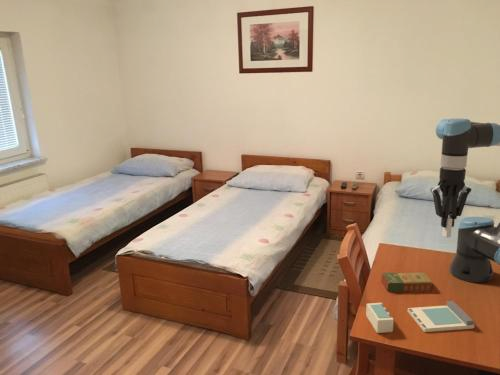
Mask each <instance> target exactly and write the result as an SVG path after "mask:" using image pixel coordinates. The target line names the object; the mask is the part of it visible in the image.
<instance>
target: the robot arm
mask: <svg viewBox="0 0 500 375" xmlns="http://www.w3.org/2000/svg"><path fill="white" fill-rule="evenodd" d="M435 134H436V137H437V138H438V139H440V140H442V143H441V155H440V156H441V158H440V166H441V167H440V168H439V177H438V178H439V181H438V183H437V186H435V187H432V188H430V192H431V194H432V195H433V196H432V198H433V205H434V210H435V214H436V216H438V217H439V218H441V221H440V226H441V227H442V234H441V235H442V236H443V237H444V238H451V237H452V228H453V227H454V226H455V221H456V220H457V219H458V217H461V216H462V215H463V214H462V213H463V211H464V207H465V205H466V202H467V199H468V197H469V194H470V193H471V192H472V188H471V187H468V186H467V185H466V183H465V179H466V171H467V170H466V168H467V162H468V153H469V149H473V148H485V147H486V148H489V147H493V146H496V147H500V124H498V123H495V122H475V121H471V120H470V119H468V118H443V119H442V120H440V121H439V122H438V123H437V124H436V127H435ZM441 196H442V199H441ZM458 225H459V226H458V230H457V239H456V240H457V242H456V253H455V255H454V257H453V259H452V261H451V262H450V265H449V273H450V274H451V276H453V277H455V278H457V279H459V280H461V281H466V282H470V283H486V282H490V281H491V280H492V279H493V277H494V276H493V275H494V270H493V266H492V262H494V263H496V264H498V266H499V265H500V222H498V224H497V225H496V224H495V220H494V219H493V218H490V217H486V216H485V217H484V216H466V217H463V218H461V219H460V221H459V224H458ZM495 225H496V226H495ZM491 261H492V262H491Z"/></svg>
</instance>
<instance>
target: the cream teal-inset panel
mask: <svg viewBox="0 0 500 375" xmlns="http://www.w3.org/2000/svg"><path fill="white" fill-rule="evenodd" d="M407 313H408V314H409V315H410V317H412V319H413V320H414V321H415V322H416V323H417V325H418V326H419V327H420V329H421V330H422V331H423V332H424V333H431V332H444V331H456V330H457V331H458V330H468V329H469V330H470V329H472V330H473V329H474V328H475V324H474V319H472V318H471V317H470V316H469V315H468V314H467V313H466V312H465V311H464V310H463V309H462V308H461V307H460V306H459V305H458V304H457V303H456V302H455V301H453V300H448V301H446V305H437V306H436V305H434V306H433V305H432V306H423V307H422V306H419V307H408V308H407Z"/></svg>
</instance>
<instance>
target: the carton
mask: <svg viewBox="0 0 500 375" xmlns="http://www.w3.org/2000/svg"><path fill="white" fill-rule="evenodd" d="M380 280H381V283H382V285H383V287H384V288H385V290H386V291H387V292H389V293H392V292H393V293H395V292H396V293H397V292H401V293H402V292H432V284H433V283H432V282H433V281H432V280H431V279H430V277H428V275H426V273H425V271H416V272H415V271H412V272H411V271H409V272H408V271H407V272H405V271H404V272H382V274H381V279H380Z"/></svg>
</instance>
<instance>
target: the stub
mask: <svg viewBox="0 0 500 375" xmlns="http://www.w3.org/2000/svg"><path fill="white" fill-rule="evenodd" d="M365 308H366V310H365V311H366V312H365V316H366V318H367V319H368V321H369V322H370V324H371V326H372V327H373V329H374V330H375V332H376V333H377V334H384V333H385V334H386V333H393V332H394V318H393V316H392V315H391V314H390V312H389V311H388V309H387V308H386V307H385V306H384V304H383V302H374V303H373V302H372V303H366V307H365Z"/></svg>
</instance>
